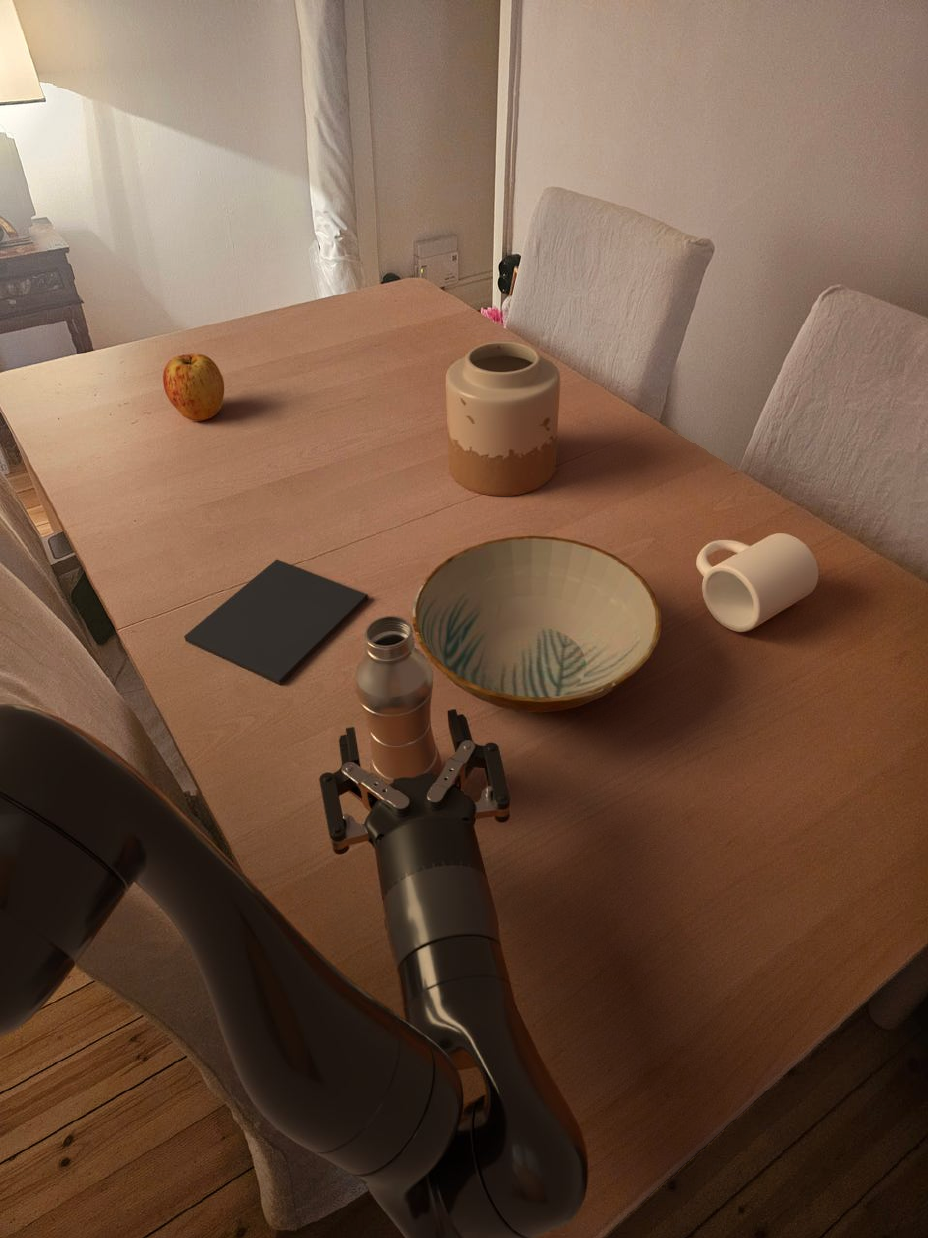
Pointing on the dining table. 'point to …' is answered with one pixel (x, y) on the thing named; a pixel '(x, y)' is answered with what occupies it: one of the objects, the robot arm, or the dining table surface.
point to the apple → (194, 386)
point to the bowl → (536, 622)
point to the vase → (502, 419)
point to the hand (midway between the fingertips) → (401, 724)
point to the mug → (756, 579)
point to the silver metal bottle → (397, 701)
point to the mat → (277, 620)
